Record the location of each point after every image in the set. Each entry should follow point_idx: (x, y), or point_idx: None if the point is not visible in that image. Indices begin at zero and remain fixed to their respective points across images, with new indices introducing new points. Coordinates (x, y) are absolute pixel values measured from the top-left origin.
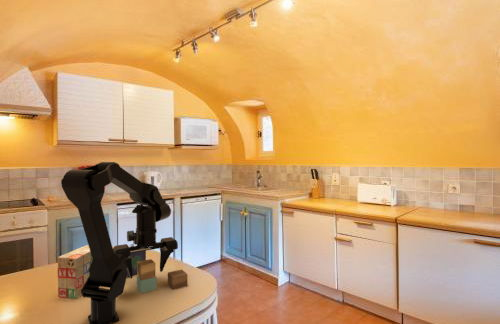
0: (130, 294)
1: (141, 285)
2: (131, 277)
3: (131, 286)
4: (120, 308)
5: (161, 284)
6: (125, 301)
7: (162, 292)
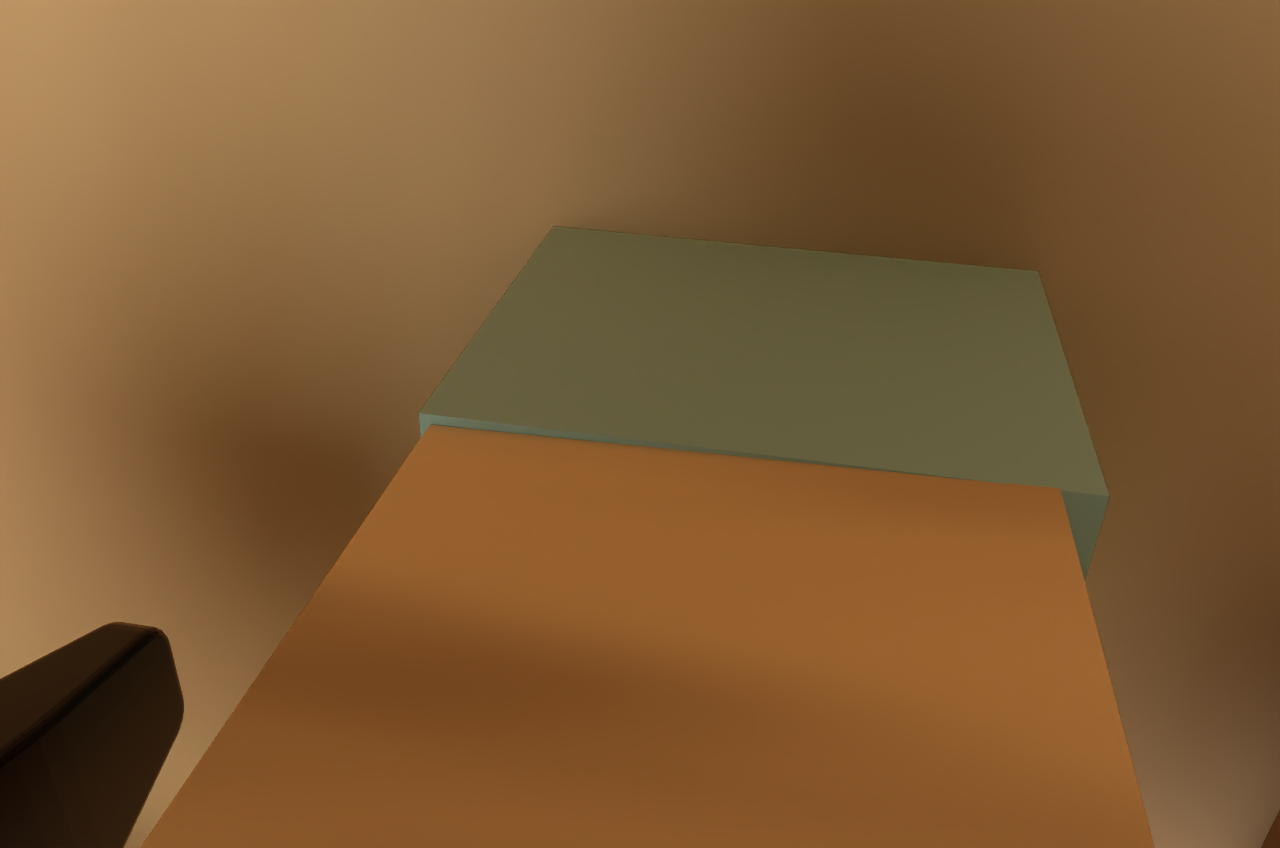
0: (341, 486)
1: None
2: (141, 751)
3: (429, 14)
4: (146, 820)
5: (1243, 474)
6: (226, 684)
7: None
